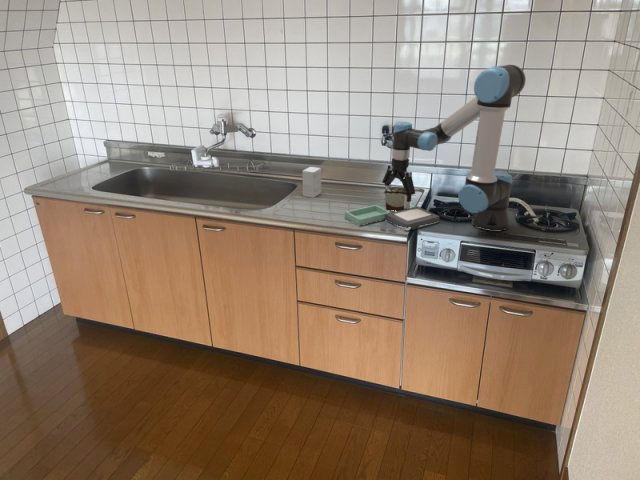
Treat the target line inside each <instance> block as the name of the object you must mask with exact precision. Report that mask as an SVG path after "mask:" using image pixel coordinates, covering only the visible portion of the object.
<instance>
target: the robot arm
mask: <svg viewBox="0 0 640 480" xmlns="http://www.w3.org/2000/svg"><path fill="white" fill-rule="evenodd" d="M526 82H527V81H526V73H525V72H524V70H523V69H522V68H521V67H519V66H518V65H515V64H505V65H498V66H490V67H488V68H486V69H484V70H482V71H481V72H480V73H479V74H478V75H477V77H476V78H475V80H474V84H473V92H474V95H475V97H473V98H472V99H470V100H469V101H468V102H467V103H465V104H464V105H462V106H461V107H460V108H459V109H457V110H456V111H455V112H453V113H452V114H450V115H449V116H448V117H446V118H445V119H444V120H443V121H441V122H440V123H438V125H436V126H435V127H430V128H427V129H423V130H420V129H415V128H413V124H412V123H411V122H409V121H398V122H396V123H395V124H394V127H393V134H392V135H393V137H392V138H393V140H392V141H393V142H392V149H391V164H390V165H387V170H386V172H385V175H384V177H383V178H382V181H381V182H382V184H384V190H385V189H386V188H389V187H392V182H394V180H395V179H398V180H399V181H400V182H401V184H402V187H403V188H404V189H405V192H406V194H405V201H404V209H406V208H407V209H409V208H411V201H412V196H413V195H415V194H416V190H415V189H416V188H415V185H414V180H413V172H412V171H408V170H407V169H408V168H409V163H410V159H409V158H410V152H411V148H414V149H419V150H422V151H429V152H431V151H433V150H434V149H435V148H436V147H437V145H441V144H443V145H444V144H445V143H447V142H449V141H450V140H451V138H452V137H453V136H454V135H456V134H457V133H459V132H461V131H462V130H463V129H464V128H466V127H467V126H469V125H470V124H471V123H473V122H474V121H476V120H477V119H478V124H477V130H476V136H475V137H476V138H475V142H474V143H475V144H474V148H473V149H474V151H473V156H472V162H471V163H472V164H471V168H470V172H469V173H467V174H466V175H465V176H466V177H465V183H464V185H463V186H462V187H461V188H460V189H459V191H458V196H457V197H458V202H459V204H460V206H461V207H462V208H463V209H464V210H465V211H467V212H469V213H473V216H472V218H471V224H472V223H473V224H474V225H475V226H477V227H481V228H484V229H490V230H504V229H507V228H508V227H509V228H510V224H511V223H510V219H509V211H508V208H509V203H510V197H511V190H512V185H513V176H512V175H511V174H510V173H507V172H505V171H498V170H496V165H497V159H498V154H499V149H500V143H501V142H500V141H501V136H502V131H503V124H504V118H505V115H506V114H505V113H506V112H507V110H508V109H510V108H511V105H512V100H513V99H512V98H515V97H516V96H518V95H519V94H520V93H521V92H522V91H523V89H524V88H525V85H526ZM408 191H409V192H408ZM509 228H508V229H509ZM508 229H507V230H508Z"/></svg>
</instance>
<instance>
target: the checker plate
mask: <svg viewBox="0 0 640 480" xmlns="http://www.w3.org/2000/svg"><path fill="white" fill-rule="evenodd" d="M394 216H396V217H398V218H400V219H402V220H404V221H406V222H411V221H414V220H418V219H422V218H426V217H430V216H431V215H430V214H428V213H426V212H424V211H422V210H419V209H413V210H408V211H404V212H400V213H396V214H394Z"/></svg>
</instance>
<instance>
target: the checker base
mask: <svg viewBox="0 0 640 480" xmlns="http://www.w3.org/2000/svg"><path fill="white" fill-rule="evenodd" d="M413 209H419V210H422V211H424V212H426V213H428V214H430V215H431V216H430V217H426V218H422V219H418V220H414V221H411V222H406V221H404V220H402V219H400V218H398V217H396V216H394V214H396V213H400V212H404V211H408V210H413ZM385 220H387V221H389V222H392V223H394V224H396V225H398V226H402V227H406V228H408V227H411V229H412V230H411V231H413V230H417V229H419V228H418V227H419V226H420V225H425V224H430V223H434V222H437V221H439V222H440V216H439V215H437V214H435V213H433V212H430V211H429V210H426V209H424V208H421V207H419V206H412V207H410V208H407V209H405V210H401V211H397V212H393V211H391V213H388V214H386V217H385ZM385 220H384V221H385ZM387 221H386V222H387ZM389 222H388V223H389Z"/></svg>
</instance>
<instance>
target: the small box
mask: <svg viewBox="0 0 640 480" xmlns="http://www.w3.org/2000/svg"><path fill="white" fill-rule="evenodd" d="M301 173H302V174H301V175H302V196H303V197H306V198H307V197H308V198H313V199H314V198H315V197H317V196H318V195H321V194H322V168H321V167H315V166H309V167H307V168H305V169H303V170H302V172H301Z"/></svg>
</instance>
